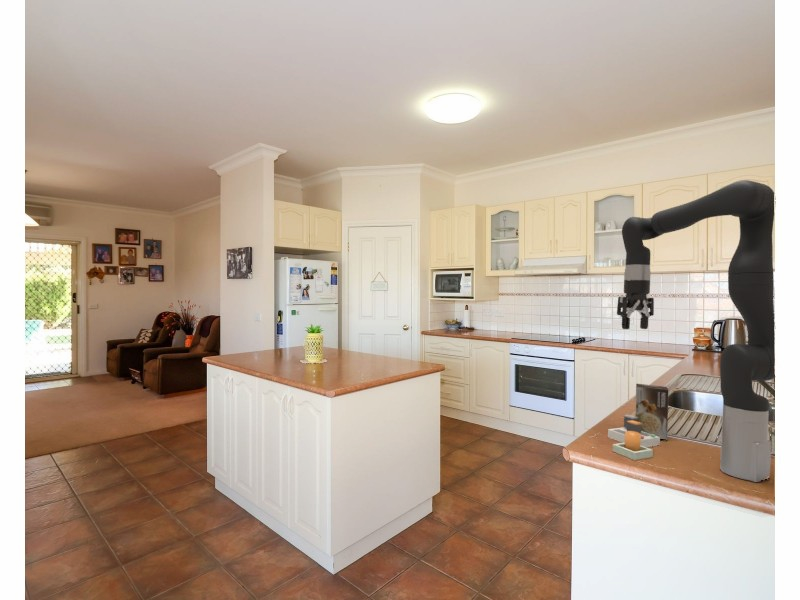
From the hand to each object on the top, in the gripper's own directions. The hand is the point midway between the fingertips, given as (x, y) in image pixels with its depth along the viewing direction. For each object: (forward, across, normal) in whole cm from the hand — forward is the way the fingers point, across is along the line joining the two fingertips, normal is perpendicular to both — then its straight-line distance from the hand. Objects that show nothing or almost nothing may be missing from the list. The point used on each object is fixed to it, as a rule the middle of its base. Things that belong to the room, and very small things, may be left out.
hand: (634, 329), depth 145 cm
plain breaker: (+31, +4, +3) cm, 32 cm away
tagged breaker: (+31, +9, +8) cm, 34 cm away
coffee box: (+34, -4, +4) cm, 35 cm away
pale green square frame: (+34, +17, +14) cm, 41 cm away
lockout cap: (+34, +17, +14) cm, 41 cm away
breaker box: (+34, +6, +6) cm, 35 cm away
